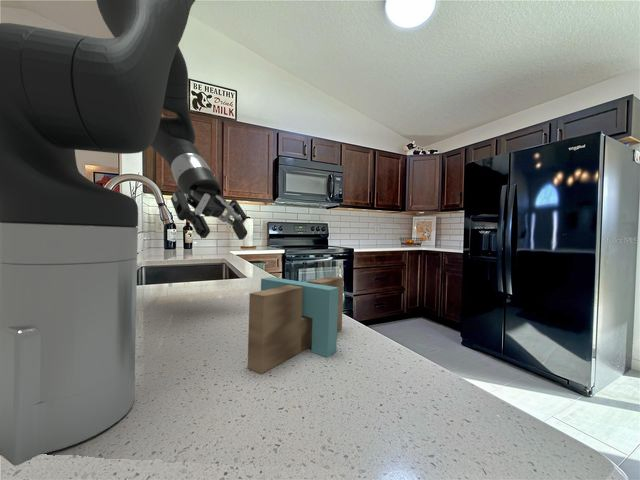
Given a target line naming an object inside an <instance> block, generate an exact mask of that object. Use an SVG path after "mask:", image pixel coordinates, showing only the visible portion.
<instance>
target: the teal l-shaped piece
mask: <svg viewBox="0 0 640 480" xmlns="http://www.w3.org/2000/svg"><path fill="white" fill-rule="evenodd" d="M287 285H293V286H299V287H303V297H302V316H306V317H310V318H313V322H312V346H311V353H314V354H317V355H319V356H323V357H324V358H325V357H326V358H329V357H331V355H333V354H335V353H336V352H337V349H338V348H337V346H338V345H337V342H338V332H337V320H338V292H339V287H332V286H326V285H319V284H313V283H307V282H306V281H299V280H294V279H293V280H292V279H287V278H286V279H285V278H279V277H275V276H274V277H273V276H270V277H264V278H263V277H262V278H260V291H263V290H268V289H273V288H277V287H282V286H287Z"/></svg>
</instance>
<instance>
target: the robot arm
mask: <svg viewBox="0 0 640 480" xmlns="http://www.w3.org/2000/svg"><path fill="white" fill-rule="evenodd" d="M95 2H96V3H97V7H98V11H99V13H100V15H101V17H102V20H103V22H104V23H105V25H106V27H107V29H108V30H109V32H110V33H111V35H112V36H113V37H110V38H109V37H108V38H101V37H94V36H89V35H83V34H78V33H77V34H76V33H71V32H68V31H67V32H66V31H60V30H55V29H50V28H45V27H40V26H39V27H38V26H32V25H26V24H19V23H11V22H0V456H1V457H2V458H4V459H5V460H6V461H7V462H8V463H10V464H11V465H13V466H15V467H16V466H20V465H22V464H24V463H26V462H27V461H29V460H31V459H33V458H36V457H38V456H40V455H43V454H47V453H51V452H55V451H59V450H62V449H65V448H68V447H70V446H74V445H76V444H79V443H81V442H83V441H86V440H88V439H91V438H92V437H95V436H97V435H98V434H100V433H102V432H104V431H105V430H106V429H108V428H111V426H113V425H114V424H115V423H116V424H117V422H119V421H121V419H123V418H124V416H125V415H127V414H128V413H129V412H130V410H131V408H132V407H133V405H134V402H135V382H136V373H135V372H136V333H137V331H136V329H137V290H138V289H137V288H138V287H137V285H138V282H137V281H138V280H137V279H138V249H139V248H138V242H139V228H138V226H139V207H138V204H137V202H136V200H135V198H132V197H131V196H130V195H127V194H124V193H121V192H119V191H116V190H113V189H111V188H108V187H104V186H102V185H100V184H97V183H96V182H94V181H92V180H91V179H88V178H87V177H86V176H84V175H83V174H82V173H81V172H80V171H79V169H78V165H77V157H76V150H78V151H84V152H85V151H86V152H98V153H99V152H100V153H109V154H123V155H124V154H126V155H129V154H138V153H142V152H145V151H146V150H147V149H148V148H149V147H151V148H152V149H153V150H154V152H155V153H157V154H158V155H159V156H160V157H162V158H163V160H165V161H166V162H167V164H168V166H169V168H170V170H171V173H172V176H173V179H174V181H175V183H176V185H177V187H178V188H175V190H174V192H173V194H172V195H171V198H170V200H171V204H172V207H173V209H174V211H175V213H176V214H175V215H176V216H177V219H178V220H179V221H182V222H183V221H185V220H186V221H188V222H189V223H190V224H192V226H193V228H194V231H195V232H196V234H197V235H198V236H199V237H200V239H206V238H207V237H208V235H209V234H211V230H210V227H209V226H208V225H209V224H208V223H207V222H206V219H205V217H213V218H217V219H219V220H220V221H222V222H223V223H227V224H229V225H230V226H231V227H232V229H233V231H234V233H235V235H236V237H237V238H238V240H241V241H243V240H244V239H245V238H246V237H247V235H248V230H247V228H246V227H245V224H244V223H245V222H246V220H248V215H247V214H246V212H244V210H243V209H242V207H241V205H240V204H239V202H238V201H237V200H236V199H235V198H233V199H231V201H229V200H226V199H225V198H224V197H223V196H222V190H221V189H222V188H221V186H220V183H219V182H218V180H217V179H216V177H215V175H214V173H213V172H212V170H211V168H210V167H209V165H208V163H207V162H206V161H205V160H204V159H203V157H202V155H201V154H200V152H199V150H198V148H197V147H196V145H195V142H196V133H195V129H194V124H193V122H192V118H191V113H190V109H189V100H188V99H189V97H188V95H189V93H188V92H189V72H188V66H187V63H186V60H185V58H184V55H183V52H182V51H181V48H180V46H179V45H180V43H181V40H182V38H183V35H184V32H185V30H186V27H187V25H188V20H189V16H190V12H191V8H192V6H193V4H194V3H195V2H196V0H96V1H95ZM163 110H165V111H169V112H171V113H175V114H176V117H165V116H162V114H163V113H162V112H163ZM190 207H191V208H193V209H194V210H191V208H190ZM225 211H227V212H226V213H225V215H223V214H224V212H225ZM202 215H203V216H202ZM231 216H232V218H233V219H231Z"/></svg>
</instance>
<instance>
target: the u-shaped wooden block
mask: <svg viewBox="0 0 640 480" xmlns="http://www.w3.org/2000/svg"><path fill="white" fill-rule="evenodd" d="M307 283H313V284H319V285H326V286H332V287H339V292H338V320H337V333H339V332H340V331H342V330H343V329H342V328H343V310H344V309H343V306H344V305H343V304H344V277H340V276H333V275H331V276H325V277H321V278H317V279H313V280H307ZM302 297H303V287H299V286H293V285H287V286H282V287H277V288H273V289H268V290H263V291H261V290H259V291H254V292H249V299H248V301H249V303H248V309H249V310H248V311H249V312H248V335H247V337H248V340H247V341H248V342H247V369H248V370H251V371H254V372H256V373H258V374H260V375H262V374H264V373H266V372H269V371H270V370H272V369H273V368H275V367H278V365H280V364H282V363H284V362H286V361H288V360H290V359H291V358H293V357H295V356H297V355H299V354H300V353H302V352H304V351H306V350H308V349H309V348H312V322H313V318H310V317H306V316H302Z"/></svg>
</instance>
